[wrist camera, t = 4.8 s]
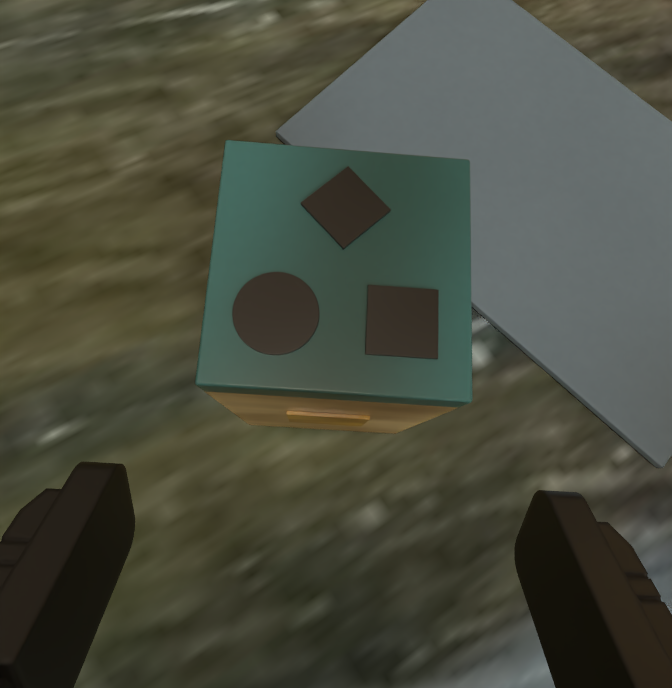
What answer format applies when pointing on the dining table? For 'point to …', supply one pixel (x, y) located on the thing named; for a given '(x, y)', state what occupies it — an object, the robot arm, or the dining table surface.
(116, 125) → the dining table surface
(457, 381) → the shape sorter
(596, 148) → the mat
